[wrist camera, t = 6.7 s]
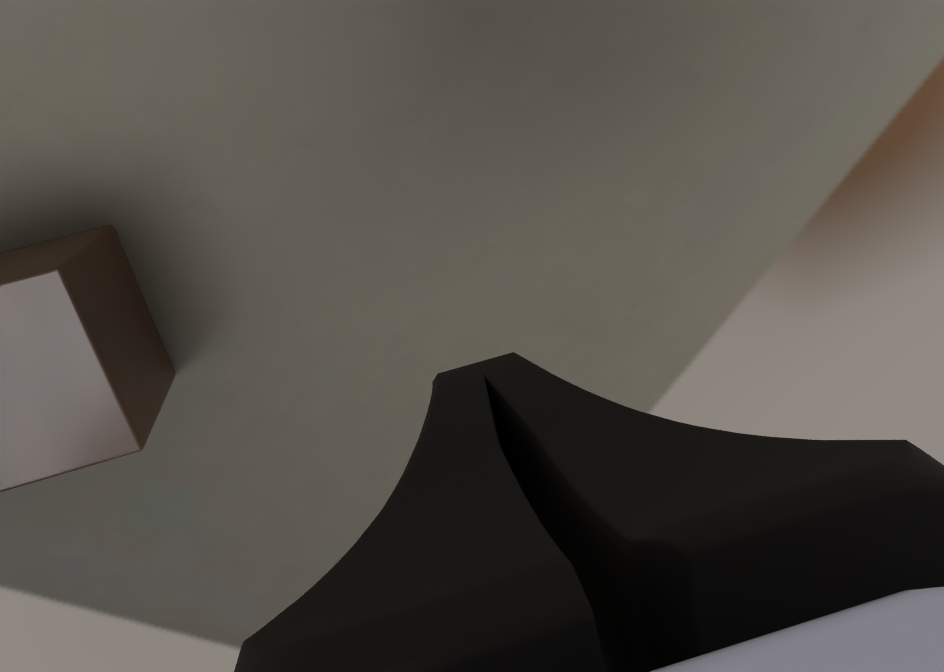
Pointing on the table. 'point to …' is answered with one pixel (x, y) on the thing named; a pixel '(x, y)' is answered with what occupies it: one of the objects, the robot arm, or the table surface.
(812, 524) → the robot arm
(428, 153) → the table surface
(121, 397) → the brown wooden block
